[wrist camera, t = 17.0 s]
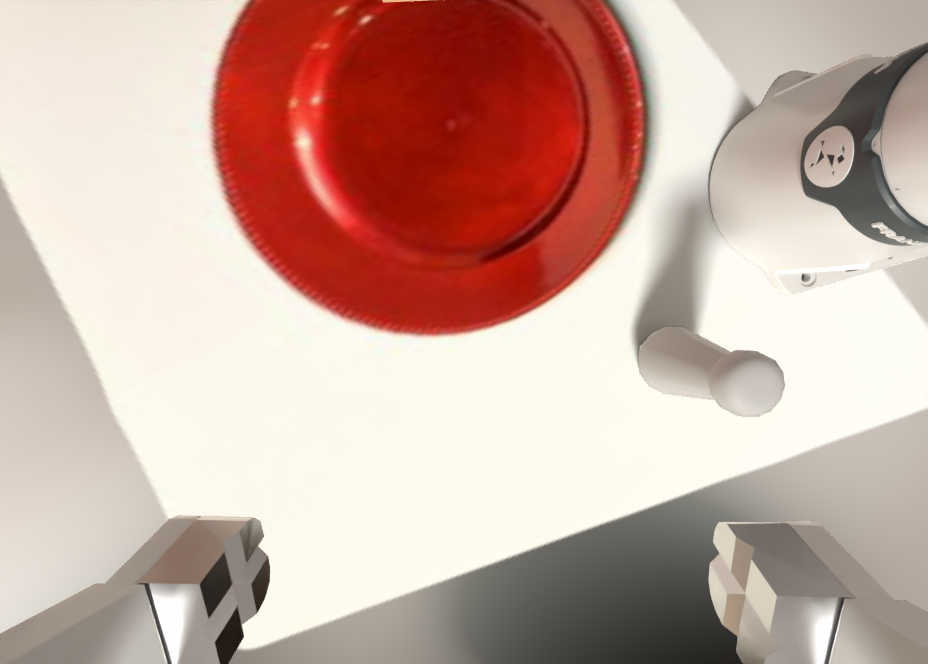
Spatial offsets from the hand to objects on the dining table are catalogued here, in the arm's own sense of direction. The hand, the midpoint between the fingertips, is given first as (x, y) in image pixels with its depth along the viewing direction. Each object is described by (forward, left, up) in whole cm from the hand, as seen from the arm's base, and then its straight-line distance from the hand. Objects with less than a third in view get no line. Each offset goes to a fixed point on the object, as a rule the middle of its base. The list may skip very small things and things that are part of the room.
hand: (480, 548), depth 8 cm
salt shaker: (-19, +3, -33) cm, 38 cm away
